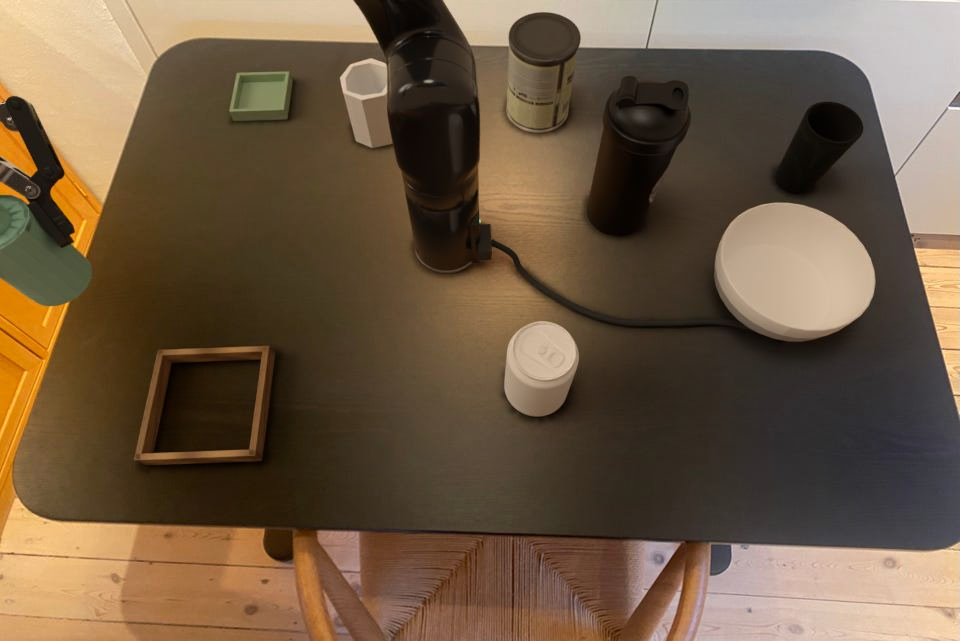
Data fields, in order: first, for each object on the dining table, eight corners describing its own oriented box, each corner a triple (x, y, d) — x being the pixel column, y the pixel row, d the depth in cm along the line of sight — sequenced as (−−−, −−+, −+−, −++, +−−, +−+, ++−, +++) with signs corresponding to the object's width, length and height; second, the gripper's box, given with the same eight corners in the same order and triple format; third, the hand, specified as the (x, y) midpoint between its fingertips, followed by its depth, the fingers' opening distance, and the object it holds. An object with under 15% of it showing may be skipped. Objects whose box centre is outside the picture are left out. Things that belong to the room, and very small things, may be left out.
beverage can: (529, 347, 80) (536, 304, 69) (579, 383, 78) (595, 345, 67) (491, 391, 77) (492, 354, 66) (541, 431, 75) (551, 399, 64)
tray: (292, 81, 102) (289, 71, 100) (287, 119, 98) (283, 109, 96) (241, 82, 102) (236, 72, 100) (233, 121, 98) (228, 111, 96)
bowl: (842, 258, 86) (878, 222, 78) (834, 377, 78) (874, 349, 70) (708, 225, 88) (730, 187, 81) (688, 336, 80) (710, 306, 73)
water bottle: (647, 246, 87) (698, 129, 66) (576, 234, 88) (605, 116, 67) (652, 191, 91) (702, 65, 71) (585, 180, 92) (614, 53, 72)
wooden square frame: (275, 353, 80) (269, 345, 77) (262, 461, 73) (255, 455, 71) (167, 357, 79) (157, 349, 77) (144, 465, 73) (133, 460, 71)
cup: (829, 191, 91) (875, 133, 80) (786, 206, 90) (828, 150, 79) (799, 154, 94) (840, 94, 84) (757, 168, 93) (793, 109, 82)
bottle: (100, 253, 52) (10, 167, 42) (81, 307, 50) (-18, 229, 40) (40, 252, 52) (-64, 167, 42) (18, 306, 50) (-96, 228, 40)
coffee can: (506, 86, 101) (509, 10, 89) (567, 88, 101) (579, 12, 88) (504, 133, 97) (507, 59, 84) (569, 134, 96) (582, 61, 84)
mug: (347, 146, 96) (334, 98, 87) (357, 106, 99) (345, 56, 91) (423, 151, 95) (417, 103, 86) (429, 111, 99) (424, 61, 90)
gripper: (-323, 81, 34) (-90, 325, 41) (-61, -18, 38) (115, 220, 44) (-239, 98, 41) (-50, 306, 47) (-23, 13, 45) (125, 216, 51)
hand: (29, 263), depth 46 cm, fingers closed on bottle, 5 cm apart
